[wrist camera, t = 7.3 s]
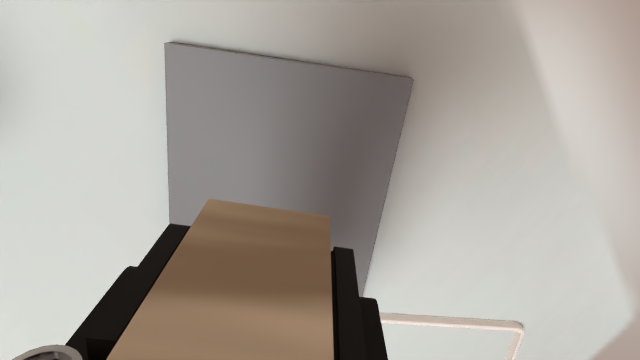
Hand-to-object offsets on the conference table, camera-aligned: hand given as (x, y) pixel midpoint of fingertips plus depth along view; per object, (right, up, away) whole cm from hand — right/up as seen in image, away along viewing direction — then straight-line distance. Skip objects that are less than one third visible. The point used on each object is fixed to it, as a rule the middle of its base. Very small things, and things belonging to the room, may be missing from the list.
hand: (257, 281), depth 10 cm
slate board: (-2, -2, +19) cm, 20 cm away
